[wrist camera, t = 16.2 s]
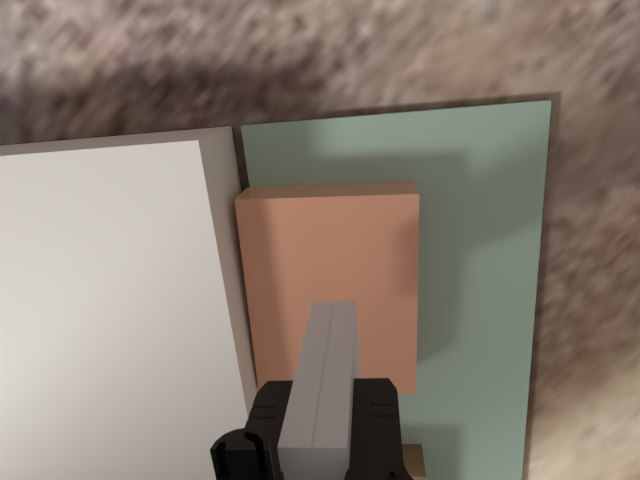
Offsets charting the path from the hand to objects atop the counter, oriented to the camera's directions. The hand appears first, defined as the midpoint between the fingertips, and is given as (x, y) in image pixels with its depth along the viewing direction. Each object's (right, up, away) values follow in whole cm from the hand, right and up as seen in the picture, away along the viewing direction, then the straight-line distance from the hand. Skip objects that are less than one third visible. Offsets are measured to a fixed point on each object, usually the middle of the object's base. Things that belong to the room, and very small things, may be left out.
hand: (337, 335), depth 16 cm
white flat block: (-10, -5, +9) cm, 15 cm away
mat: (+3, -5, +7) cm, 9 cm away
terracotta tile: (0, +1, +5) cm, 5 cm away
